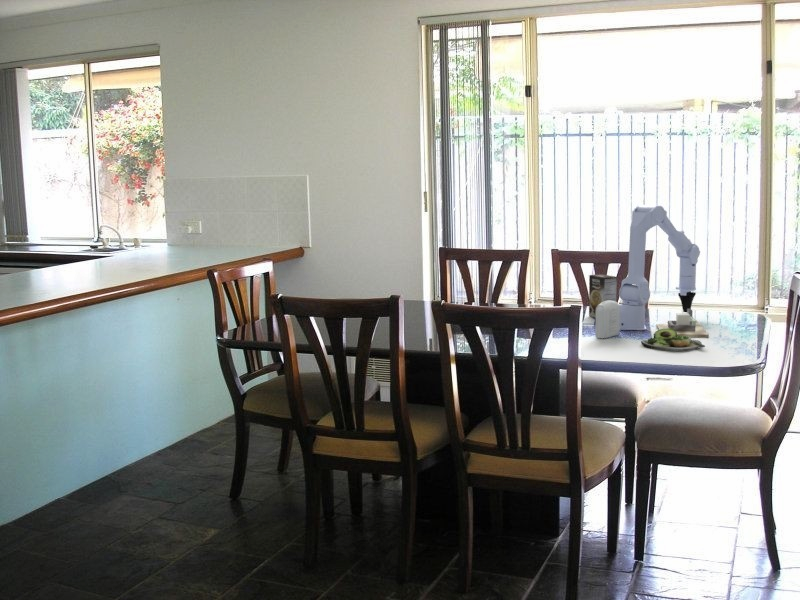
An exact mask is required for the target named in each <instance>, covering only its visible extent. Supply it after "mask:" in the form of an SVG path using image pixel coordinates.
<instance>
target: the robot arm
mask: <svg viewBox="0 0 800 600" xmlns="http://www.w3.org/2000/svg"><path fill="white" fill-rule="evenodd" d="M667 213H668V212H667V210H666V209H665V208H664V207H663V206H662V205H645V204H638V205H637V206H636V207H635V208H634V209H632V213H631V214H632V215H631V222H630V226H629V244H628V245H629V249H628V270H627V276H626V277H625V278H624V279H622V280H621V286H620V288H619V290H618V292H619V293H618V295H619V298H620V300H621V301H622V303H618V304H619V307H620V315H619V331H621V330H622V331H647V327H646V325H645V316H646V313H645V312H646V305H647V303H648V301H649V300H650V297H651V291H650V283H649V281H648V280H647V279H646V277H645V265H646V241H647V232H648V231H650V229H652V228H654V227H656V226H658V227H659V228H660V229H661V230H662V231H663V233H664V234H666V235H667V237H668V238H667V240H668V242H669V243H670V244H671V246H673V248H674V249H675V252H676V256H677V257H678V258H679V277H678V279H679V281H678V286H676V287H675V290H679V292H678V297H679V299H680V301H681V307H682V313H687V308H691V309H692V304H693V301H694V298H695V297H696V292H694V291H696V290H697V288H696V281H697V280H696V278H697V263H698V261H699V260H698V259H699V258H700V254H701V250H700V248H699V246H698V245H697V244H695V243H693V242H692V241H691V239H689V238H688V236H687V235H686V234H685V231H684V230H682V229H681V230H680V229H677V228H676V227H675V226H674V224H673V222H672V221H671V220H670V219H669V217H668V215H667Z"/></svg>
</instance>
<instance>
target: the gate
mask: <svg viewBox="0 0 800 600" xmlns="http://www.w3.org/2000/svg"><path fill="white" fill-rule="evenodd" d="M686 313H688V314H689V315H690V321H692V325H695V326H696V320H697V319H696V318H694V316H693V309H692V307H691V308H687V312H686ZM695 319H696V320H695Z"/></svg>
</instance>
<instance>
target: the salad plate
mask: <svg viewBox="0 0 800 600" xmlns="http://www.w3.org/2000/svg"><path fill="white" fill-rule="evenodd" d="M641 345H642V346H643V347H644V348H648V349H653V350H658V351H667V352H689V351H692V350H693V349H694V350H698V349H699V348H704V347H706V345H704V344H703V343H702V341H701V340H698V339H692V338H691V337H687V336H685V335H684V336H680V335H679V336H678V335H677V333H676V331H674V330H672V329H660V330H658V329H657V330H655V332H654V333H653V337H650V338H646V339H641Z"/></svg>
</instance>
